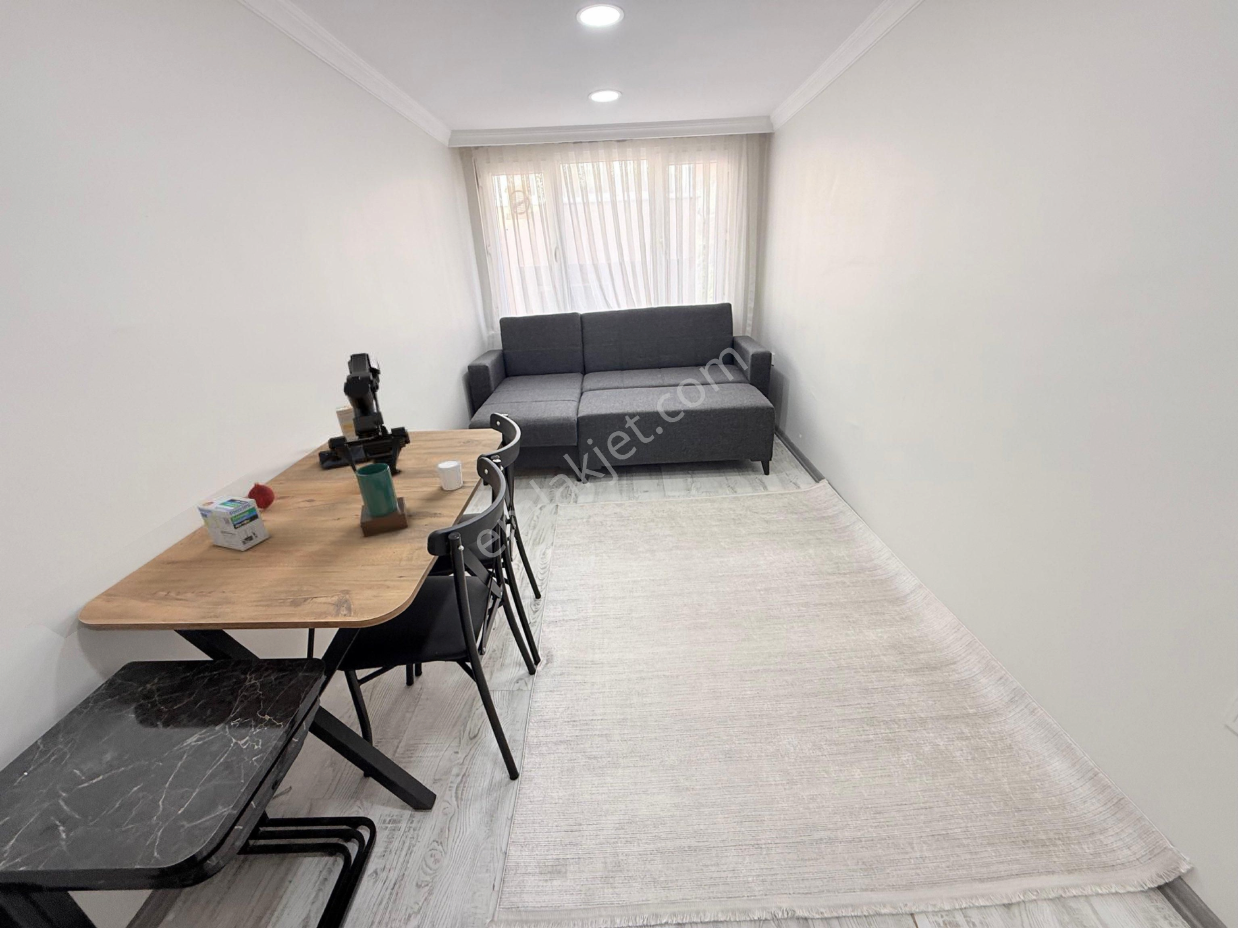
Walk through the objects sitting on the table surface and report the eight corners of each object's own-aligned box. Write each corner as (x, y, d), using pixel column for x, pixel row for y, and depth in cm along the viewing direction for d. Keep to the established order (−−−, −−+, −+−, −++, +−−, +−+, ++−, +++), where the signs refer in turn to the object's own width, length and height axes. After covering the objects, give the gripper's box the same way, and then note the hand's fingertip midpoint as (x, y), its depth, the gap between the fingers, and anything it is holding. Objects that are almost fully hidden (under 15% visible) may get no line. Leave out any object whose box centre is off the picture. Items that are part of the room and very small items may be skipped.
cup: (360, 515, 121) (348, 474, 117) (378, 501, 128) (368, 462, 123) (386, 517, 120) (376, 476, 115) (404, 502, 126) (394, 463, 122)
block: (365, 518, 128) (361, 505, 126) (406, 509, 131) (403, 496, 130) (364, 537, 119) (360, 522, 118) (408, 527, 123) (404, 513, 121)
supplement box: (368, 436, 188) (359, 403, 182) (369, 439, 184) (361, 406, 179) (344, 441, 184) (334, 407, 179) (345, 444, 180) (335, 410, 175)
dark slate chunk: (390, 459, 165) (387, 446, 163) (317, 471, 158) (313, 457, 156) (393, 444, 178) (390, 432, 176) (326, 454, 172) (322, 442, 170)
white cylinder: (468, 480, 147) (464, 459, 144) (459, 491, 140) (455, 469, 138) (446, 480, 147) (441, 459, 145) (436, 491, 141) (431, 468, 138)
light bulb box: (270, 537, 121) (255, 498, 117) (243, 552, 115) (227, 511, 111) (240, 531, 124) (224, 493, 120) (212, 545, 119) (195, 505, 114)
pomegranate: (282, 505, 137) (273, 479, 133) (261, 515, 132) (251, 488, 129) (269, 502, 139) (260, 476, 136) (248, 511, 134) (238, 485, 131)
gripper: (318, 408, 121) (326, 465, 116) (399, 397, 128) (410, 450, 123) (330, 428, 131) (338, 482, 126) (405, 417, 137) (415, 467, 132)
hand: (375, 470), depth 126 cm, fingers open, 9 cm apart
